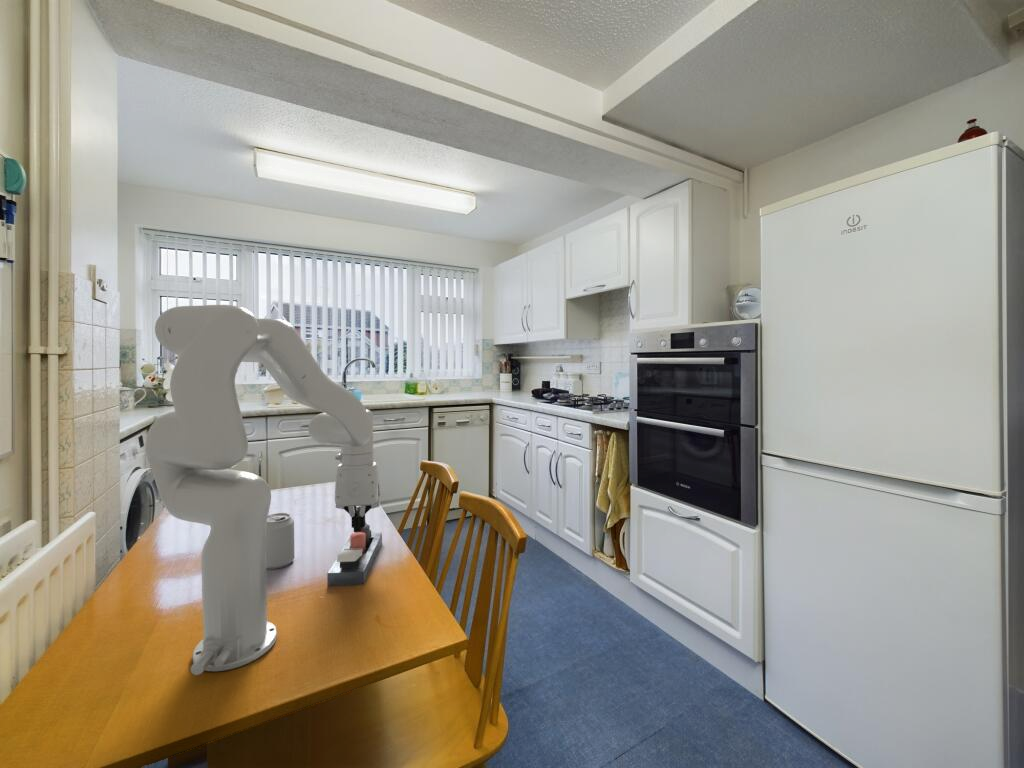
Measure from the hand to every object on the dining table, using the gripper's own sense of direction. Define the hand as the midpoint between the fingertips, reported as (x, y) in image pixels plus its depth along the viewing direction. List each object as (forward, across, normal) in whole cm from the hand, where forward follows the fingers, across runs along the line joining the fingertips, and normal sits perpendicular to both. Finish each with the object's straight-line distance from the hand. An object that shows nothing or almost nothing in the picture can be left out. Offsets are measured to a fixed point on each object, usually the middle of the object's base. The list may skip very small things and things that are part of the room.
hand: (358, 529), depth 110 cm
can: (+8, -20, 0) cm, 21 cm away
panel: (+8, 0, -1) cm, 8 cm away
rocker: (+3, 0, -8) cm, 8 cm away
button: (+6, 0, 0) cm, 6 cm away
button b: (+6, 0, +5) cm, 7 cm away
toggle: (+4, 0, +9) cm, 10 cm away
